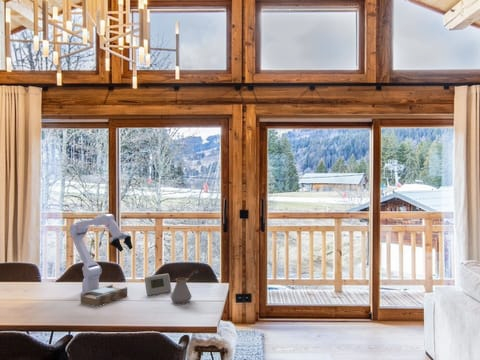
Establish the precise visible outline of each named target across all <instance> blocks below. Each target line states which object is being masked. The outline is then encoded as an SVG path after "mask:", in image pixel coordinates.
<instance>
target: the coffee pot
mask: <svg viewBox="0 0 480 360" xmlns="http://www.w3.org/2000/svg"><path fill="white" fill-rule="evenodd" d="M198 273H199V271H198V270H197V269H195V270H193V271H192V273H190V275H189V276H188V277H178V278H177V277H176V278H175V282H176V284H175V286H174V288H173V291H172V293H171V296H170V299H171V301H172V302H173V303H174V304H176V305H185V304H188V303H189V301H191V299H192V297H193V296H192V293H191V292H190V289H189V286H188V285H187V282H188V281H189V280H190V279H191V278H192V277H193V276H194V274H198Z"/></svg>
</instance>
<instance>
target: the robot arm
mask: <svg viewBox="0 0 480 360" xmlns="http://www.w3.org/2000/svg"><path fill="white" fill-rule="evenodd" d="M90 226H95V227H99V226H105V227H106V229H107V230H108V231H109V234H110V235H111V236H112V237H109V239H108V241H109V243H110V245H111V246H113V247H114V248H116V249H117V250H118V251H119V252H123V251H124V248H123V245H122V244H121V240H123V242H122V243H123V244H125V245H126V247H127V248H128V249H129V250H132V249H133V243H132V236H131V235H130V234H126V233H125V232H122V230H121V229H120V227H119V226H118V224H117V222H116V217H115V215H114V214H112V213H107V214H105V213H104V214H103V213H102V214H101V215H99V214H97V215H96V216H94V217H93V218H92V219H88V220H80V221H78V222H74V223H71V224H70V226H69V229H68V232H69V234H70V236H71V238H72V239H71V240H72V242H73V244H74V246H75V249H76V250H77V252H78V255H79V256H80V259H81V261H82V263H83V266H82V268H81V270H82V274H83V277H84V278H83V280H82V284H81V285H82V286H81V287H82V291H81V292H80V294H82V293H85V292H88V291H92V290H95V289H98V288H100V287H99V286H100V281H99V280H100V277H101V274H102V272H103V270H102V267H101V265H99V264H98V262H97V261H94V260H93V258H92V256H91V254H90V252H89V250H88V248H87V246H86V243H85V241H84V238H85V237H86V234H87V232H88V231H89V228H90Z"/></svg>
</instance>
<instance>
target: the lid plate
mask: <svg viewBox="0 0 480 360" xmlns="http://www.w3.org/2000/svg"><path fill="white" fill-rule="evenodd" d="M103 287H104V288H102V287H100V288H101V289H97V290H94V291H91V294H94V295H102V294H106V293H109V292H112V291H115V290H117V289H113V288H107V287H105V286H103Z"/></svg>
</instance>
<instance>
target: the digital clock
mask: <svg viewBox="0 0 480 360" xmlns="http://www.w3.org/2000/svg"><path fill="white" fill-rule="evenodd" d="M144 284H145V291H146V296H155V295H160V294H165V293H169V292H172V284H171V277H170V274H169V273H163V274H162V273H161V274H155V275H148V276H145V277H144Z"/></svg>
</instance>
